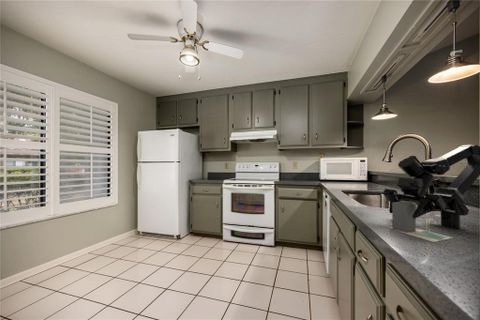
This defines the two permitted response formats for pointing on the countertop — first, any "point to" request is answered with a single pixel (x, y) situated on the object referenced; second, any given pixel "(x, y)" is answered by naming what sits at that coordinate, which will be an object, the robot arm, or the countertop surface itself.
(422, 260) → the countertop surface
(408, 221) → the tall gray pillar
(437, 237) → the stand board
